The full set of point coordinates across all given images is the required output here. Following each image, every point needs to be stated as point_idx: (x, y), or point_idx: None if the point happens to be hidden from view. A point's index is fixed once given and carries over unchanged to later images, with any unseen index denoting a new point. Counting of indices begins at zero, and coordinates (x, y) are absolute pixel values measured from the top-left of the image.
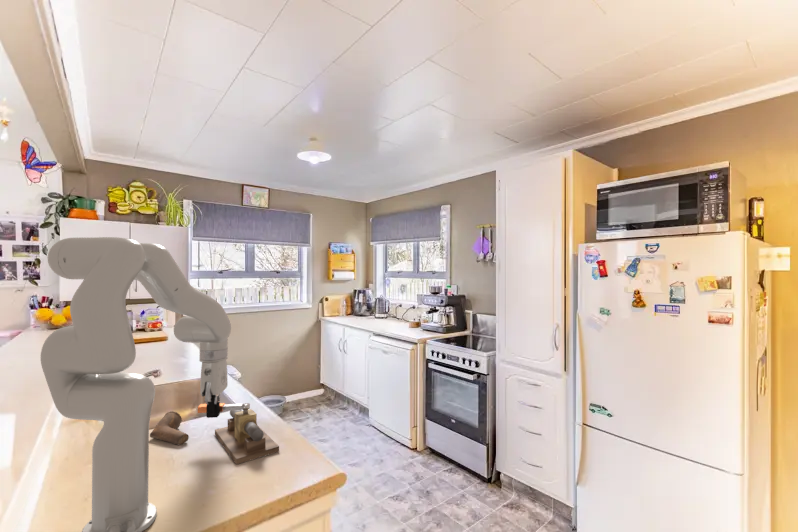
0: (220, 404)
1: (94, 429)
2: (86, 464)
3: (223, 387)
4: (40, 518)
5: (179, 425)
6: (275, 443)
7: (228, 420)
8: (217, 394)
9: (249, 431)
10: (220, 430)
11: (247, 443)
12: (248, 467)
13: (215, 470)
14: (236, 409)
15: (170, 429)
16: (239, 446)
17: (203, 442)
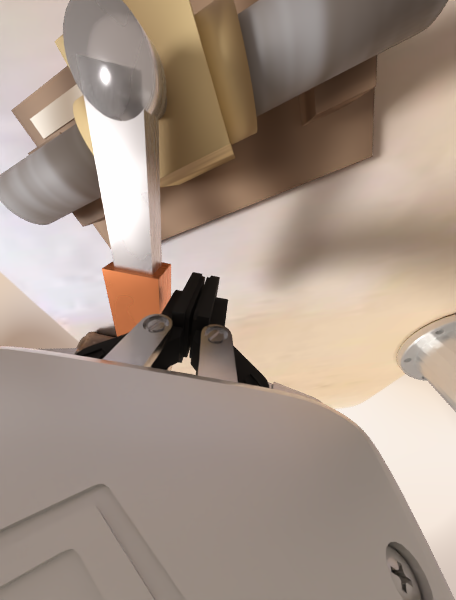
0: (130, 290)
1: None
2: None
3: (126, 423)
4: (344, 406)
5: (91, 333)
6: None
7: (92, 222)
8: (362, 431)
9: (357, 56)
10: None
11: (365, 92)
12: (417, 99)
13: (357, 223)
14: (157, 174)
15: None
16: (268, 154)
17: (172, 274)
